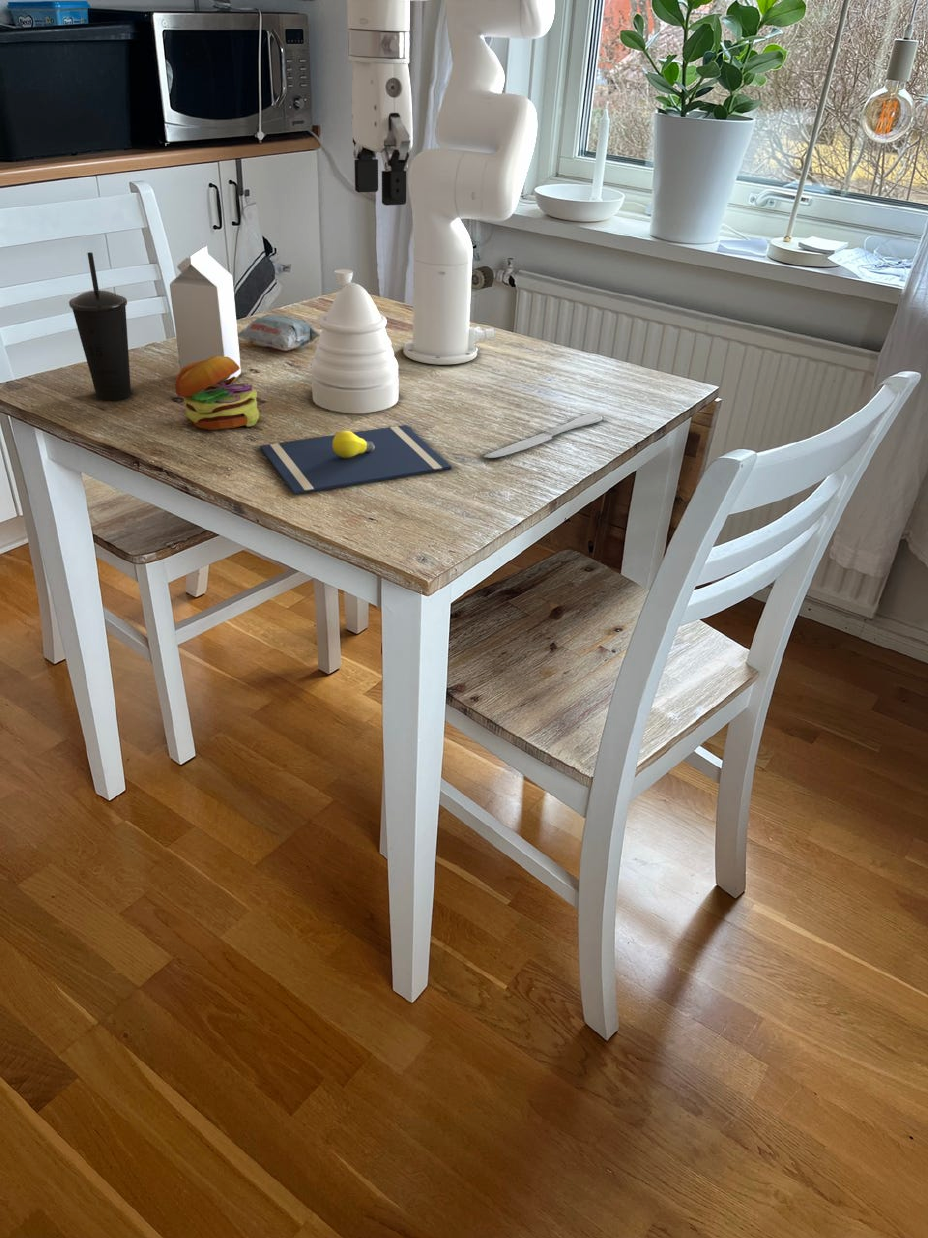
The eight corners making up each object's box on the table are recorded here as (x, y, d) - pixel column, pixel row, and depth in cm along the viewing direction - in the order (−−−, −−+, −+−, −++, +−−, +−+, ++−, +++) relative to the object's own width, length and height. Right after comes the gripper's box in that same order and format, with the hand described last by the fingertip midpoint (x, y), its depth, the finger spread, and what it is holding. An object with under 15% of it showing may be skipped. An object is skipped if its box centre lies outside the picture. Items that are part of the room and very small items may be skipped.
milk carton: (241, 373, 149) (229, 247, 139) (227, 388, 143) (214, 257, 133) (197, 370, 149) (182, 244, 139) (182, 385, 143) (165, 254, 133)
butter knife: (607, 417, 138) (591, 411, 140) (493, 459, 124) (477, 452, 125) (606, 419, 138) (591, 414, 140) (493, 462, 124) (477, 455, 125)
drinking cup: (93, 385, 142) (68, 245, 131) (145, 386, 142) (124, 247, 132) (80, 403, 135) (52, 258, 124) (135, 404, 136) (112, 259, 125)
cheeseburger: (240, 438, 127) (216, 365, 122) (176, 444, 131) (150, 374, 126) (276, 412, 135) (255, 343, 130) (214, 418, 139) (191, 351, 134)
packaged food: (289, 360, 155) (287, 330, 152) (234, 346, 160) (231, 317, 157) (321, 347, 162) (320, 318, 159) (267, 335, 166) (265, 306, 164)
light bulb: (326, 456, 122) (328, 428, 122) (366, 460, 126) (367, 433, 125) (339, 457, 120) (341, 429, 119) (379, 461, 123) (381, 433, 123)
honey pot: (294, 396, 142) (287, 271, 132) (359, 377, 150) (356, 259, 140) (351, 420, 134) (348, 290, 125) (415, 399, 142) (417, 276, 133)
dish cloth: (406, 427, 133) (406, 424, 133) (451, 468, 122) (451, 465, 122) (260, 448, 125) (259, 445, 125) (294, 494, 114) (294, 491, 113)
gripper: (435, 52, 111) (432, 208, 120) (381, 44, 124) (382, 186, 133) (376, 51, 108) (377, 211, 118) (326, 43, 121) (331, 187, 130)
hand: (380, 197), depth 125 cm, fingers open, 9 cm apart
